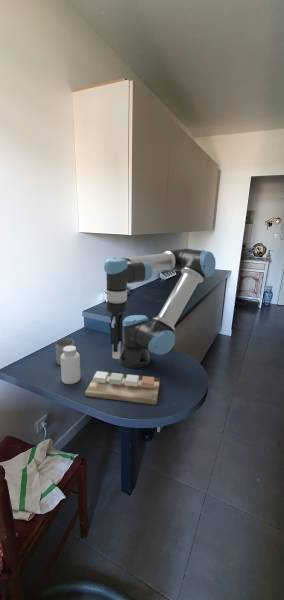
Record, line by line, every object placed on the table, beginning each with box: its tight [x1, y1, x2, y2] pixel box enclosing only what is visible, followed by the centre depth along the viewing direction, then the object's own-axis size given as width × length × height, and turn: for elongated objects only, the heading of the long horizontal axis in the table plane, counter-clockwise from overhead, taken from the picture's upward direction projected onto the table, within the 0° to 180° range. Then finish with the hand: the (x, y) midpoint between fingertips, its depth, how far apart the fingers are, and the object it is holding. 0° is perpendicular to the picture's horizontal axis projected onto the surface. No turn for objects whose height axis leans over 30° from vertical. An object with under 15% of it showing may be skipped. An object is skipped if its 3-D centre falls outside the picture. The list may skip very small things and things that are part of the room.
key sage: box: [109, 372, 124, 385], centre depth 112 cm, size 5×5×2 cm
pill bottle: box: [60, 345, 81, 385], centre depth 117 cm, size 8×8×15 cm
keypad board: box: [84, 372, 161, 405], centre depth 113 cm, size 14×28×3 cm, turn 82°
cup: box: [55, 338, 75, 366], centre depth 133 cm, size 8×8×10 cm
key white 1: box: [92, 370, 109, 383], centre depth 113 cm, size 5×5×2 cm
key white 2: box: [125, 374, 140, 386], centre depth 111 cm, size 5×5×2 cm
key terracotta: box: [141, 375, 156, 388], centre depth 110 cm, size 5×5×2 cm
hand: (116, 357), depth 110 cm, fingers closed
